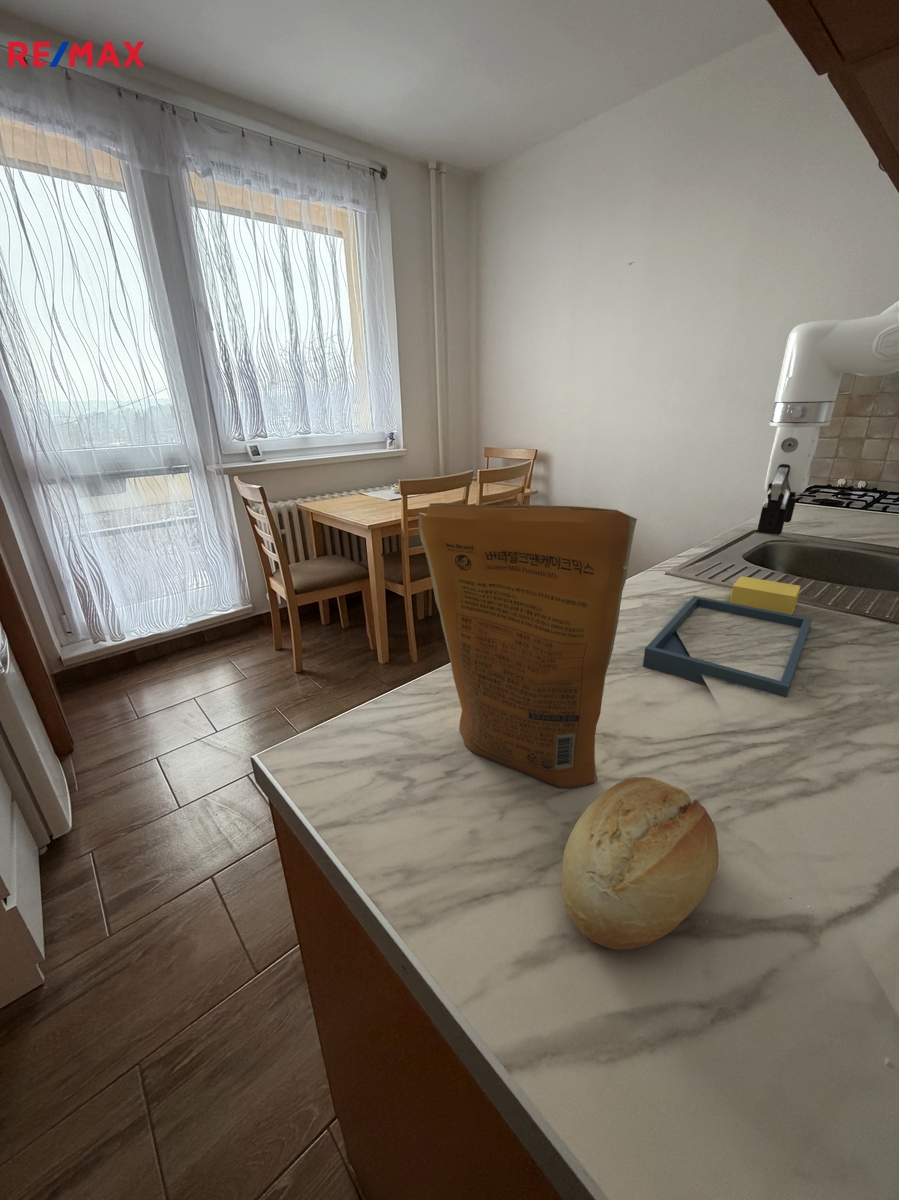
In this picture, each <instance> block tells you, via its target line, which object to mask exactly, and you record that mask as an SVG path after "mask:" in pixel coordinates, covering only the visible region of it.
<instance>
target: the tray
mask: <svg viewBox="0 0 899 1200" xmlns="http://www.w3.org/2000/svg"><path fill="white" fill-rule="evenodd" d="M697 607H698V608H703V609H708V610H713V611H717V612H722V613H727V614H732V615H737V616H740V617H747V618H752V619H757V620H762V621H766V622H770V623H775V624H780V625H784V626H791V627H795V628H799V631H798V634H797V637H796V639H795V642H794V644H793V647H792V650H791V652H790V655H789V658H788V660H787V662H786V666H785V668H784V671H783V673H782V676H781V679H780V680H778V679H774V678H770V677H767V676H764V675H760V674H756V673H752V672H749V671H745V670H741V669H737V668H735V667H730V666H726V665H723V664H719V663H715V662H711V661H707V660H704V659H700V658H696V657H693V656H691V655H690V653H689V651H688V650H687V648H686V647H685V644H684V643H683V641H682V639H681V637H680V636H679V634H678V632H677V630H678V629H679V628H680V627H681V626H682V625H683V624H684V622H685V621H686V620H687V619H688V618H689V616H691V614H693V612H694V611H695V610H696V608H697ZM812 622H813V618H810V617H806V616H799V615H794V614H792V615H790V614H785V613H780V612H775V611H770V610H765V609H759V608H754V607H749V606H744V605H739V604H734V603H730V601H729V602H728V601H722V600H719V599H718V600H717V599H712V598H707V597H703V596H698V595H693V596H692V598H691V599H690V600H688V601H687V603H686V604H685V605H684V606H683V607H682V608H681V609H680V610H679V611H678V612H677V613H676V614H675V615H674V616H673V618H672V619H671V620H670V621H669V622H668V623H667V624H666V625H665V626H664V627H663V628H662V629H661V630H660V631H659V633H658V634H657V635H656V636H655V637H653V639H652V640H651V641H650V642H649V643H648V644H647V645H646V647H645V648H644V653H643V662H642V667H644V668H647V669H651V670H654V671H657V672H660V673H664V674H667V675H671V676H673V677H677V678H681V679H683V680H688V681H690V682H695V683H697V684H701V685H704V686H708V685H707V682H706V680H705V679H704V677H703V676H702V675H704V676H705V675H706V676H708V677H713V678H717V679H718V680H719V679H720V680H722V681H726V682H731V683H734V684H738V685H740V686H743V687H747V688H751V689H755V690H758V691H762V692H765V693H769V694H772V695H775V696H779V697H783V698H787V697H788V694H789V691H790V688H791V685H792V683H793V679H794V677H795V673H796V670H797V667H798V665H799V661H800V659H801V655H802V653H803V650H804V646H805V644H806V641H807V637H808V634H809V633H810V629H811V625H812Z"/></svg>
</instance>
